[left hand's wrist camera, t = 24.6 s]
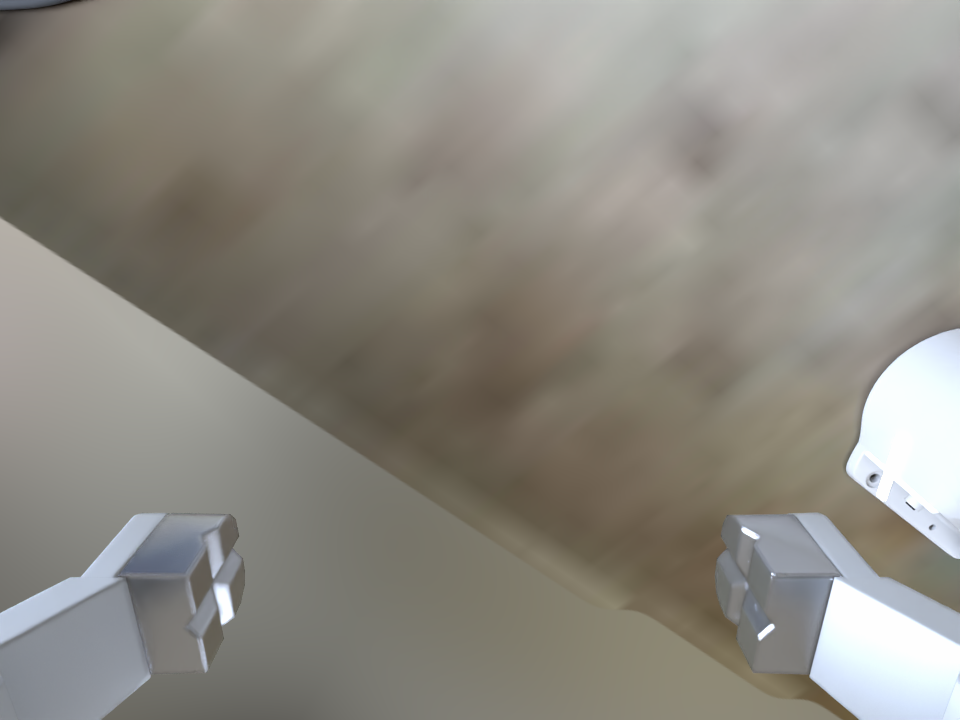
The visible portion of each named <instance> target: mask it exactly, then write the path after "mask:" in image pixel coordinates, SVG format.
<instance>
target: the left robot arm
mask: <svg viewBox="0 0 960 720" xmlns="http://www.w3.org/2000/svg"><path fill="white" fill-rule="evenodd" d="M846 471H847V474H848V475H849V476H850V477H851V478H852V479H853V480H855V481H856V482H857V483H858V484H860V485H861V486H862V487H864V488H865V489H866V490H867V491H869V492H870V493H871V494H872V495H874V496H875V497H876V498H878V499H879V500H880V501H881V502H883V503H884V504H885V505H886V506H888V507H889V508H890V509H891V510H893V511H894V512H895V513H897V514H898V515H899V516H900V517H902V518H903V519H904V520H905V521H907V522H908V523H909V524H910V525H912V526H913V527H914V528H916V529H917V530H918V531H919V532H921V533H922V534H923V535H924V536H926V537H927V538H928V539H930V540H931V541H932V542H933V543H935V544H936V545H937V546H938V547H940V548H941V549H942V550H944V551H945V552H946V553H948V554H949V555H950V556H952V557H954V558H957V559H960V328H959V329H954V330H949V331H946V332H942V333H940V334H937V335H934V336H932V337H930V338H927V339H925V340H923V341H921V342H920V343H918V344H916V345H915V346H913V347H911V348H910V349H908V350H907V351H906V352H904V353H903V354H902V355H901V356H899V357H898V358H897V359H896V360H895V361H894V362H893V363H892V364H891V365H890V366H889V367H888V368H887V369H886V370H885V371H884V372H883V374H882V375H881V376H880V377H879V379H878V380H877V382H876V383H875V385H874V387H873V388H872V390H871V392H870V394H869V396H868V399H867V401H866V404H865V407H864V411H863V415H862V423H861V433H860V438H859V442H858V444H857V445H856V447H855V449H854V451H853V452H852V454H851V456H850V458H849V460H848V463H847V466H846ZM873 474H875V475H874V476H873V477H871V475H873ZM870 477H871V478H870ZM238 537H239V533H238V528H237V523H236V519H235V518H234V517H233V516H232V515H230V514H192V513H171V514H169V513H141V514H138V515H135V516H133V517H132V519H131V520H130V521H129V522H128V523H127V524H126V525H125V527H124V528H123V529H122V530H121V531H120V532H119V534H118V535H117V536H116V537H115V538H114V539H113V540H112V542H111V543H110V544H109V545H108V546H107V547H106V549H105V550H104V551H103V552H102V553H101V554H100V555H99V557H98V558H97V559H96V560H95V561H94V562H93V564H92V565H91V566H90V567H89V568H88V569H87V570H86V572H85V573H84V574H83V575H82V576H81V577H70V578H68V579H66V580H64V581H62V582H60V583H58V584H57V585H55V586H53V587H51V588H49V589H47V590H45V591H43V592H41V593H39V594H37V595H35V596H33V597H31V598H29V599H27V600H25V601H23V602H21V603H19V604H17V605H15V606H13V607H11V608H10V609H8V610H6V611H4V612H2V613H0V720H101V719H102V718H103V717H105V716H106V715H107V714H108V713H109V712H110V711H112V710H113V709H114V708H115V707H116V706H118V705H119V704H120V703H121V702H122V701H123V700H125V699H126V698H127V697H128V696H129V695H131V694H132V693H133V692H134V691H135V690H136V689H138V688H139V687H140V686H141V685H142V684H143V683H145V682H146V681H147V680H148V679H149V678H150V674H181V673H207V672H208V670H209V668H210V666H211V664H212V662H213V660H214V658H215V655H216V654H217V651H218V649H219V647H220V645H221V643H222V641H223V639H224V637H223V631H222V626H223V625H224V624H225V623H227V622H228V621H229V620H231V619H232V618H234V617H235V615H236V612H237V610H238V608H239V606H240V604H241V600H242V595H243V590H244V586H245V569H244V563H243V558H242V557H241V556H240V555H239V554H238V553H237V552H236V551H235V550H234V549H233V546H234V544H235V543H236V541H237V539H238ZM721 537H722V539H723V541H724V543H725V544H726V546H727V549H726V550H725V551H724V552H723V553H722V554H721V555H720V556H719V557H718V558H717V563H716V571H715V582H716V593H717V596H718V600H719V603H720V606H721V608H722V610H723V612H724V615H725V617H726V618H728V619H729V620H730V621H732V622H733V623H735V624H736V625H737V626H738V631H737V637H736V639H737V641H738V643H739V645H740V647H741V649H742V651H743V653H744V655H745V657H746V659H747V662H748V664H749V666H750V668H751V670H752V672H753V673H777V674H810V676H809V677H810V678H811V679H812V680H813V681H814V682H816V683H817V684H818V685H819V686H820V687H822V688H823V689H824V690H825V691H826V692H827V693H829V694H830V695H831V696H832V697H833V698H834V699H836V700H837V701H838V702H839V703H840V704H842V705H843V706H844V707H845V708H846V709H847V710H849V711H850V712H851V713H852V714H853V715H854V716H856V717H857V718H858V719H859V720H960V613H958V612H956V611H954V610H952V609H950V608H948V607H946V606H944V605H943V604H941V603H939V602H937V601H935V600H933V599H931V598H929V597H927V596H925V595H923V594H921V593H919V592H917V591H915V590H913V589H911V588H909V587H907V586H905V585H903V584H902V583H900V582H898V581H896V580H894V579H892V578H890V577H879V576H878V575H877V574H876V573H875V572H874V570H873V569H872V568H871V567H870V566H869V565H868V564H867V562H866V561H865V560H864V559H863V558H862V557H861V555H860V554H859V553H858V552H857V551H856V550H855V549H854V547H853V546H852V545H851V544H850V543H849V542H848V540H847V539H846V538H845V537H844V536H843V535H842V534H841V532H840V531H839V530H838V529H837V528H836V527H835V526H834V524H833V523H832V522H831V521H830V520H829V519H828V517H827V516H825V515H823V514H821V513H789V514H770V515H727V517H726V519H725V521H724V523H723V527H722V532H721Z"/></svg>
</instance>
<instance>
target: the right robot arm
mask: <svg viewBox="0 0 960 720" xmlns="http://www.w3.org/2000/svg"><path fill="white" fill-rule="evenodd" d="M67 1H70V0H0V10H17V9H30V8H39V7H45V6H50V5H55V4H59V3H63V2H67Z"/></svg>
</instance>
